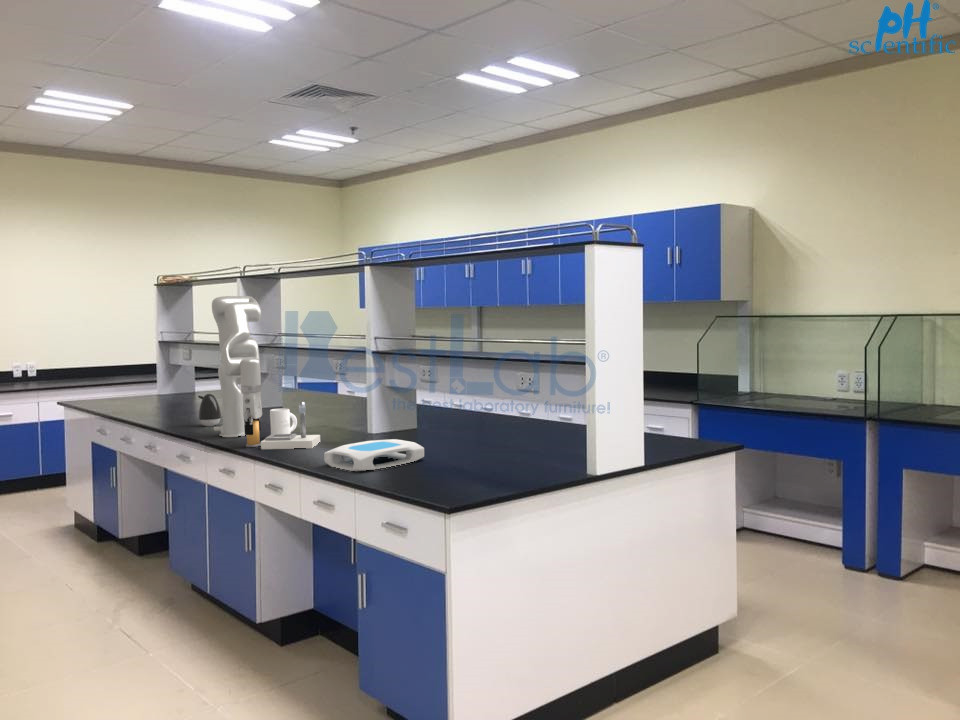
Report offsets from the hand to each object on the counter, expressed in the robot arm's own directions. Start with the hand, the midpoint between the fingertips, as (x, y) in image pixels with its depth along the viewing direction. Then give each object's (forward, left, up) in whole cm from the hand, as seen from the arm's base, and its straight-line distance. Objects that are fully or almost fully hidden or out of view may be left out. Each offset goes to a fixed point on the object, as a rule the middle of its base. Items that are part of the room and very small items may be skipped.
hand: (252, 432), depth 311 cm
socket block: (+15, 0, -6) cm, 16 cm away
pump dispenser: (-39, +60, -6) cm, 72 cm away
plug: (0, 0, -6) cm, 6 cm away
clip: (+22, -6, -2) cm, 23 cm away
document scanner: (+54, -38, -6) cm, 66 cm away
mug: (+7, +21, -6) cm, 23 cm away
